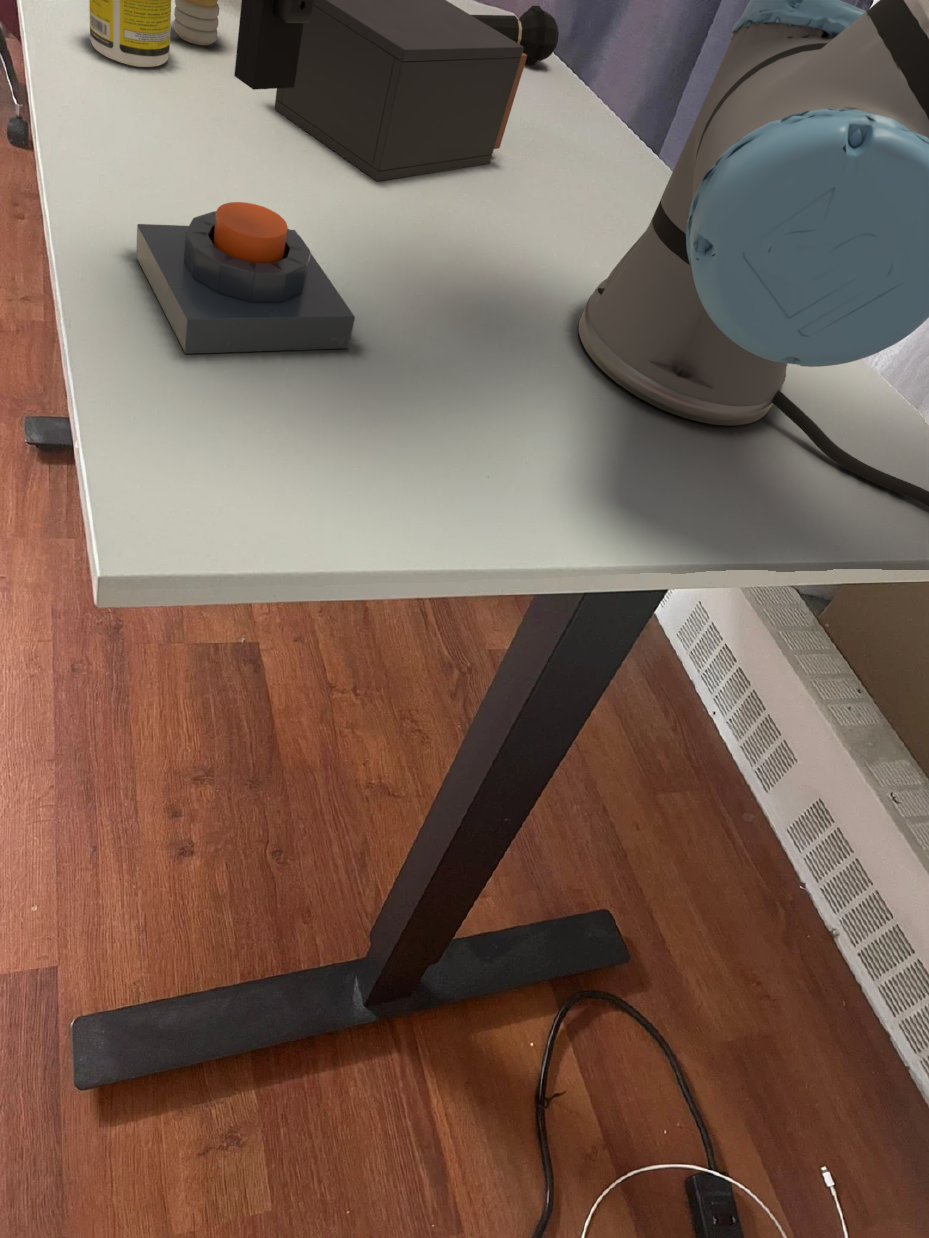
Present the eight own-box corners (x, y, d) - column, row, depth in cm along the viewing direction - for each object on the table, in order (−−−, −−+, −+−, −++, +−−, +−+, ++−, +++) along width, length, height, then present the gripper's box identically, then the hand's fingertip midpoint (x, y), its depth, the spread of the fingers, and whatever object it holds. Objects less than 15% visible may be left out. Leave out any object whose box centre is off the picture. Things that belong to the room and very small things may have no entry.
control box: (348, 348, 55) (362, 289, 52) (185, 354, 50) (189, 289, 47) (290, 260, 60) (299, 202, 57) (135, 258, 55) (137, 193, 52)
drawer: (420, 91, 86) (442, -2, 81) (507, 147, 83) (536, 55, 77) (305, 99, 77) (320, -5, 71) (398, 163, 73) (421, 59, 68)
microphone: (389, 65, 100) (553, 77, 106) (398, 15, 95) (570, 30, 101) (380, 31, 102) (542, 44, 108) (388, -21, 97) (558, -4, 103)
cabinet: (393, 99, 85) (418, -17, 78) (489, 163, 81) (524, 47, 75) (274, 109, 76) (290, -23, 69) (376, 181, 72) (404, 50, 65)
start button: (293, 267, 52) (298, 239, 51) (226, 266, 50) (229, 236, 49) (269, 231, 54) (273, 203, 53) (204, 229, 52) (206, 199, 51)
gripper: (137, -792, 29) (123, 25, 46) (421, -709, 25) (292, 149, 42) (311, -674, 34) (241, 26, 50) (571, -590, 30) (402, 137, 47)
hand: (264, 81), depth 46 cm, fingers closed
